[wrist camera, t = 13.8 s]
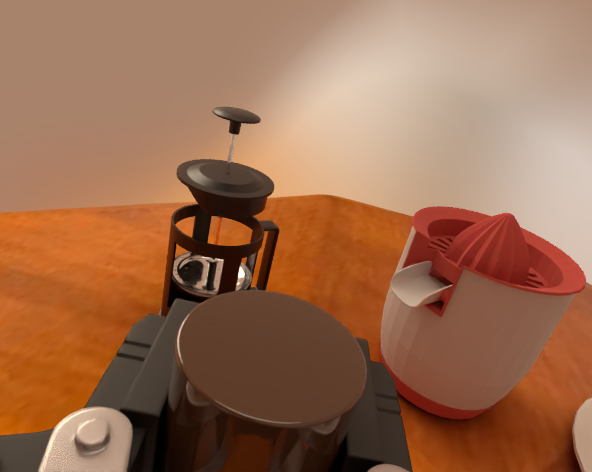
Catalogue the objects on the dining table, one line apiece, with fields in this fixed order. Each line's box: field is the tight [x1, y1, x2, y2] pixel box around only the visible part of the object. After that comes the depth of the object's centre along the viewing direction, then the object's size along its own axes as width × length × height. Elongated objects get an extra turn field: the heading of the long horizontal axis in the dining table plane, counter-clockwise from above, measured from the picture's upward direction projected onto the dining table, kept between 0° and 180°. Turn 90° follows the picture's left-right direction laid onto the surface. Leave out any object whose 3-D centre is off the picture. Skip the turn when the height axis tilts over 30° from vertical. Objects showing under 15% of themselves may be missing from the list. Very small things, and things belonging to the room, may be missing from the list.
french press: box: [159, 107, 279, 317], centre depth 45 cm, size 12×9×23 cm
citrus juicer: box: [379, 207, 586, 419], centre depth 45 cm, size 16×17×20 cm
